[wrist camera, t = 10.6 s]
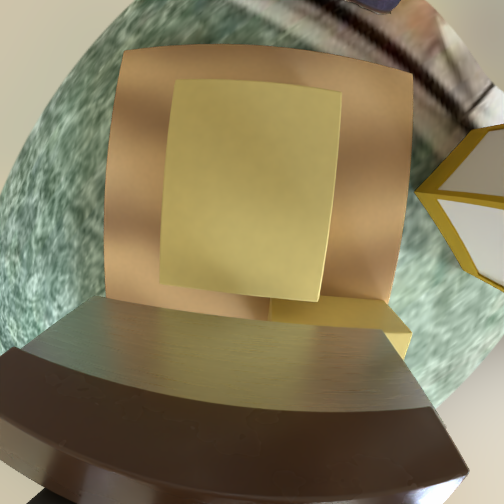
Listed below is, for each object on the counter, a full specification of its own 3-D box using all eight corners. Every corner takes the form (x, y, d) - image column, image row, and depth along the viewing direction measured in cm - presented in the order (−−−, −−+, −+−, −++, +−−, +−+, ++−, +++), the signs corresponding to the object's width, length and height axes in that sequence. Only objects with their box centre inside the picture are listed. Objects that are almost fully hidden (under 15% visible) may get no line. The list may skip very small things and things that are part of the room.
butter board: (133, 58, 16) (123, 50, 15) (403, 80, 16) (412, 73, 14) (124, 378, 21) (117, 388, 20) (348, 405, 21) (352, 417, 19)
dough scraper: (92, 273, 11) (-61, 370, 3) (387, 306, 11) (505, 457, 3) (97, 326, 12) (-23, 443, 4) (372, 360, 12) (447, 521, 4)
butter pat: (271, 290, 17) (271, 324, 13) (384, 299, 17) (413, 332, 13) (265, 335, 18) (263, 378, 14) (372, 342, 18) (395, 382, 14)
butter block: (198, 103, 15) (174, 78, 11) (324, 114, 15) (342, 91, 11) (184, 259, 17) (158, 284, 13) (306, 273, 17) (318, 302, 13)
